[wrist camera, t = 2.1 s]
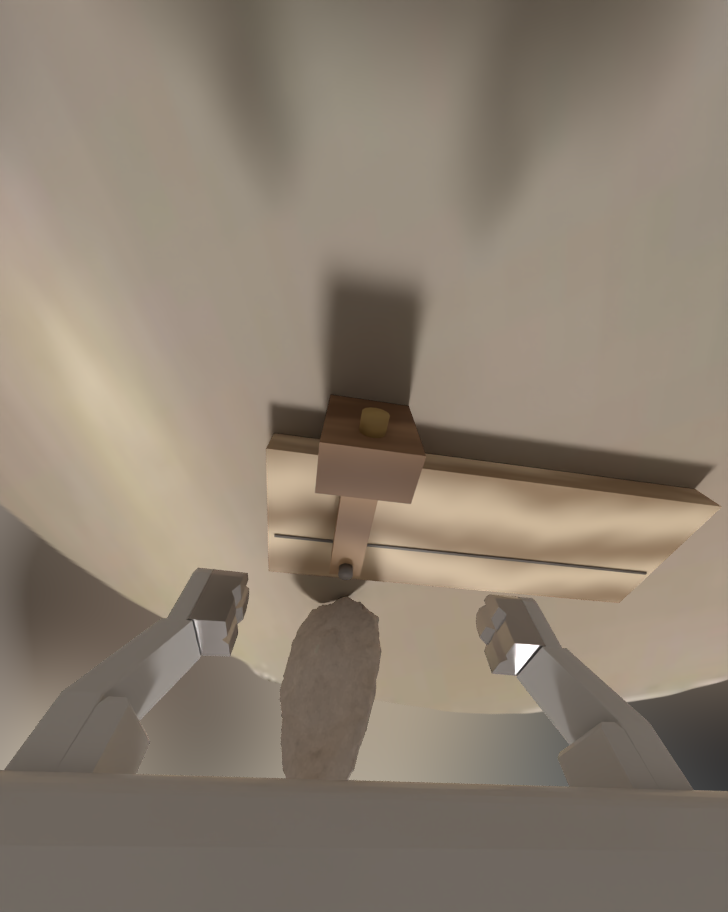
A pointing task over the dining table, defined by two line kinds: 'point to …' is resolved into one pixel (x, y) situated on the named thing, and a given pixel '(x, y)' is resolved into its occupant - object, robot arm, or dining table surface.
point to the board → (487, 526)
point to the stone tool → (329, 691)
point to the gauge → (365, 470)
